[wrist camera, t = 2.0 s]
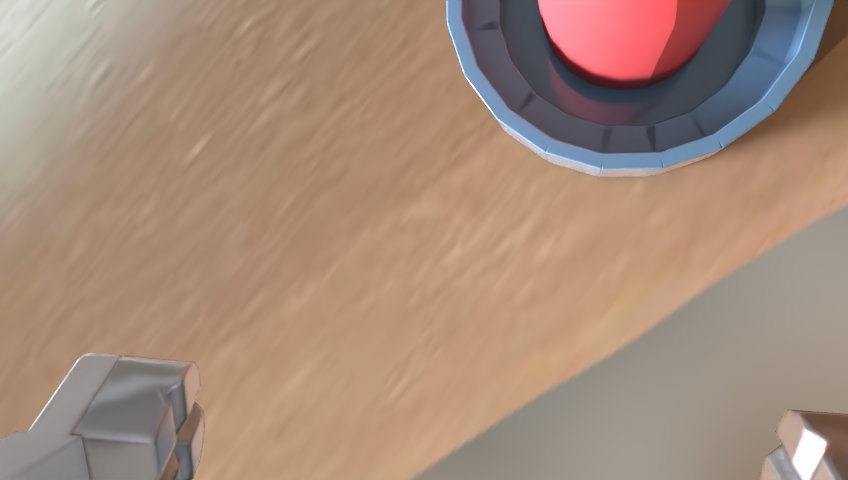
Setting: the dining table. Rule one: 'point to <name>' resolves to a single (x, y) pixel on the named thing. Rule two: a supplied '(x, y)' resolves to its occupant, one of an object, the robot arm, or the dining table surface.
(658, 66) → the beer can
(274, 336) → the dining table surface
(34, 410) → the dining table surface
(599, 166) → the bowl
